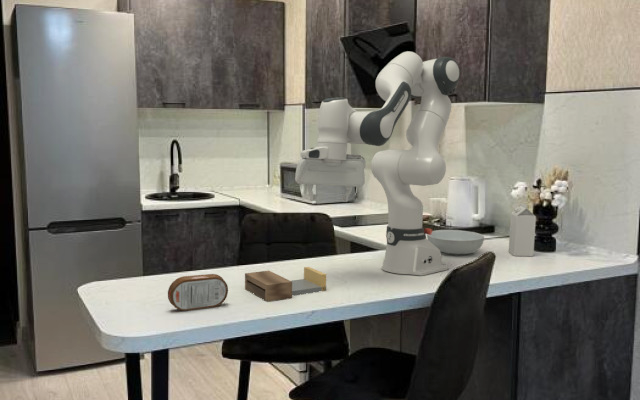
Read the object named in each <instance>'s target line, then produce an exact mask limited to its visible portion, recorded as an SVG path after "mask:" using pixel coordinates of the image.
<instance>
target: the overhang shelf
mask: <svg viewBox="0 0 640 400" xmlns="http://www.w3.org/2000/svg"><path fill="white" fill-rule="evenodd" d="M244 290H246V291H248V292H249V291H250V292H249V293H251V292H252V293H251V294H253V293H254V294H255V296H256V295H257V296H256V297H258V298H260V299H261V298H262V299H261V300H263V299H264V300H263V301H265V300H266V301H269V302H273V301H272V300H276V301H280V300H279V299H282V300H287V299H286V298H289V299H293V296H292V280H289V279H288V278H285V277H284V276H281V275H279V274H277V273H275V272H273V271H271V270H263V271H255V272H245V273H244ZM254 294H253V295H254ZM266 301H265V302H266Z"/></svg>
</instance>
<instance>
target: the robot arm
mask: <svg viewBox="0 0 640 400" xmlns="http://www.w3.org/2000/svg"><path fill="white" fill-rule="evenodd" d="M460 77H461V69H460V66H459V64H458V62H457V61H456V60H455V59H454V58H453V57H451V56H441V57H440V56H439V57H438V58H433V59H428V60H425V61H423V59H422V58H421V56H420V55H418V54H417V53H416V52H414V51H408V50H407V51H403V52H401V53H400V54H398V55H397V56H395V57H394V58H393V59H391V60H390V61H389V62H388V63H387V64H386V65H385V66H384V67H383V68H382V69H381V70H380V72H379V73H378V74H377V77H376V79H375V89H376V92H377V94H378V95H379V97H380V98H381V99H382V100H383V101H385V103H384V104H383V106H382V107H381V108H379V109H376V110H370V111H367V110H366V111H365V110H364V111H361V110H360V111H359V110H357V109H355V108H353V107H352V106H351V104H349V100H348V98H346V97H342V96H340V97H329V98H324V99H323V100H322V101H321V103H320V106H319V111H318V119H317V131H318V137H317V141H316V146H314V147H310V148H308V149H305V150H301V151H300V159H299V160H298V162H297V165H296V168H295V169H296V170H295V173H294V174H295V175H294V176H295V177H294V181H295V182H296V184H298V185H306V189H307V191H308V193H309V201H317V193H316V194H315V193H314V192H313V190H312V189H314V186H315V185H316V186H333V187H334V186H335V187H336V186H337V187H338V186H339V187H345V190H346V192H345V194H344V195H341V199H340V201H341V202H342V203H347V202H348V201H349V196H350V195H351V193H352V191H353V187H355V188H357V187H360V188H363V186H364V185H365V182H366V181H365V176H366V175H365V168H366V159H365V158H364V157H363V156H362V155H360V154H348V144H353V145H354V144H355V145H368V146H376V147H381V146H384V145H385V144H387V142H388V141H389V140H390V138H391V137H392V134H393V133H394V129H395V126H396V124H397V122H398V121H399V119H400V118H401V116H402V115H403V113H404V111H405V110H406V108H407V106H408V105H409V102H410V100H411V98H414V99H415V98H420V97H421V98H420V99H421V100H420V104H419V106H418V107H417V109H416V110H415V112H414V115H413V117H412V119H411V121H410V122H409V124H408V127H407V128H406V131H405V136H406V140H407V141H408V143H409V144H410V146H412V147H411V148H410V149H395V148H394V149H393V148H392V149H385V150H380V151H377V152H376V153H375V154H374V156H373V157H372V159H371V163H370V170H371V173H372V176H373V177H374V178H375V179H376V180H377V181H378V183H380V185H381V186H382V187H381V188H382V189H383V191H384V193H385V196H386V200H387V215H388V217H387V222H388V223H387V225H386V233H385V236H386V237H385V238H386V248H385V253H384V258H383V262H382V265H381V269H382V271H385V272H387V273H393V274H399V275H414V276H426V275H430V274H434V273H437V272H442V271H446V270H447V271H448V270H449V269H450V268H449V265H447V264H446V263H443V261H442V252H440V250H439V249H438V248H437V247H436V246H434V245H433V244H432V243H431V242H430V241H429V240H428V238H427V234H429V235H431V233H432V232H433V231H434V230H433V229H432V228H428V227H426V228H424V227H423V221H424V220H423V219H424V217H423V215H424V205H423V202H422V201H421V200H420V199H419V198H418V197H417V196H416V195H414V193H413V191H412V190H411V189H412V188H411V185H412V186H421V187H422V186H423V187H424V186H433V185H434V186H435V185H437V184H439V183H441V182H442V180H443V179H444V177H445V175H446V172H447V165H446V161H445V159H444V157H443V156H442V155H441V154H440V153H439V149H438V147H439V143H440V141H441V137H442V136H443V132H444V130H445V129H446V126H447V124H448V121H449V119H450V116H451V115H450V114H451V112H452V111H451V110H452V101H451V98H450V97H449V96H450V95H452V94H453V93H454V92H456V87H457V86H458V83H459V81H460Z"/></svg>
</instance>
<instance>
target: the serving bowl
mask: <svg viewBox="0 0 640 400" xmlns="http://www.w3.org/2000/svg"><path fill="white" fill-rule="evenodd" d="M432 231H433V232H432V233H431V235H429V234H426V239H428V240H429V241H430V242H431V243H432V244H433V245H434V246H436V247H437V248H438V249H439V250H440V252H441V253H444V254H446V255H452V256H453V255H454V256H464V255H468V254H473V253H474V252H477V251H478V250H480V248H481V247H482V245H483V243H484V240H485V236H484V235H483V234H481V233H478V232H475V231H468V230H458V229H439V230H437V229H436V230H432Z"/></svg>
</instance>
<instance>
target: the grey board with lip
mask: <svg viewBox="0 0 640 400" xmlns="http://www.w3.org/2000/svg"><path fill="white" fill-rule="evenodd" d="M291 281H292V295H294V296H300V294H301V295H307V294H306V293H308V294H313V292H315V293H320V292H319V291H322V292H326V291H327V273H325V272H322V271H320V270H317V269H315V268H312V267H310V266H305V267H303V278H300V279H294V280H291Z"/></svg>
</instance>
